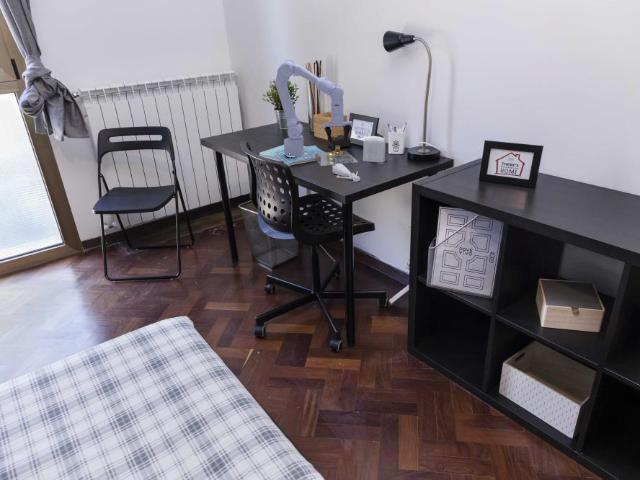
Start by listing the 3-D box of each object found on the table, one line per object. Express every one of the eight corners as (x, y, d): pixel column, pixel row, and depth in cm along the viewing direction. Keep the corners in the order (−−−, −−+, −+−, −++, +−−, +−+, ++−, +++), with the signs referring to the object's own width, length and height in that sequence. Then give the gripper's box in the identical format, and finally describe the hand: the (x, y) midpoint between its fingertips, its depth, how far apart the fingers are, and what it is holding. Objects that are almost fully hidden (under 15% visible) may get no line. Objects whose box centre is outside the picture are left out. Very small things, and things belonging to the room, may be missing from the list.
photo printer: (385, 161, 225) (386, 135, 220) (383, 164, 222) (384, 138, 216) (364, 160, 228) (364, 134, 223) (362, 163, 225) (362, 136, 219)
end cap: (334, 152, 241) (334, 139, 238) (326, 149, 247) (326, 136, 244) (350, 149, 246) (350, 136, 243) (343, 146, 251) (343, 133, 248)
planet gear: (334, 155, 232) (334, 147, 231) (331, 153, 237) (331, 145, 235) (344, 154, 233) (344, 146, 232) (341, 152, 238) (341, 144, 236)
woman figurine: (345, 159, 216) (370, 172, 203) (345, 168, 218) (369, 182, 205) (323, 164, 210) (347, 177, 197) (323, 173, 212) (347, 187, 199)
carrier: (321, 167, 219) (321, 159, 218) (310, 155, 237) (310, 148, 235) (358, 164, 223) (358, 155, 222) (345, 152, 241) (345, 144, 239)
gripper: (324, 116, 221) (325, 145, 227) (354, 113, 224) (354, 142, 230) (320, 113, 227) (321, 141, 233) (350, 110, 231) (350, 138, 237)
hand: (337, 141), depth 232 cm, fingers open, 7 cm apart
